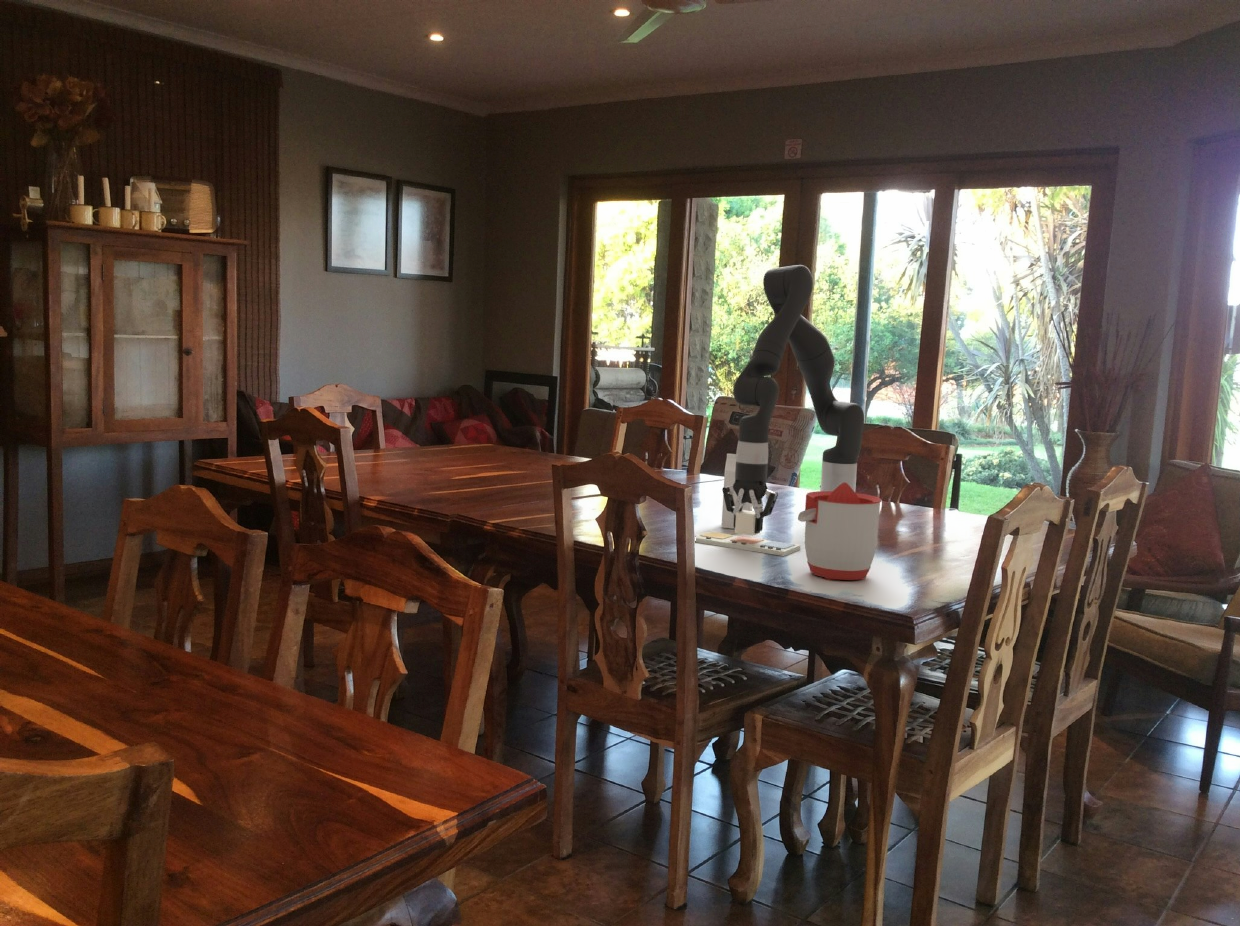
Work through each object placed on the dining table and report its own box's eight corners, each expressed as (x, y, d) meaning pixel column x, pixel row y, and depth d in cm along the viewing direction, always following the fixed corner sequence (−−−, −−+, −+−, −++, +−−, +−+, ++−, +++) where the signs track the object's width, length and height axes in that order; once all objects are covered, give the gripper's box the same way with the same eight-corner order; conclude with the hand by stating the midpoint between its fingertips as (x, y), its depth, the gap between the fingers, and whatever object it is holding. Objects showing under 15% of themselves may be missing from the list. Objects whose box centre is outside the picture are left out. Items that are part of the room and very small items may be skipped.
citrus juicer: (782, 567, 233) (788, 476, 230) (855, 566, 237) (862, 477, 234) (810, 584, 218) (817, 487, 215) (888, 583, 222) (896, 488, 219)
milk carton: (748, 530, 275) (753, 457, 273) (721, 528, 276) (725, 455, 274) (751, 525, 282) (755, 454, 280) (724, 523, 283) (728, 452, 281)
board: (709, 535, 265) (709, 530, 265) (800, 549, 253) (800, 544, 253) (690, 541, 257) (690, 535, 257) (783, 556, 245) (784, 550, 245)
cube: (742, 530, 259) (744, 510, 258) (759, 533, 256) (761, 512, 256) (734, 533, 255) (736, 512, 254) (752, 535, 252) (753, 514, 252)
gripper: (786, 462, 253) (781, 533, 255) (731, 456, 260) (727, 525, 262) (773, 465, 247) (768, 538, 249) (717, 458, 254) (713, 529, 256)
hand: (747, 531), depth 256 cm, fingers closed on cube, 4 cm apart
